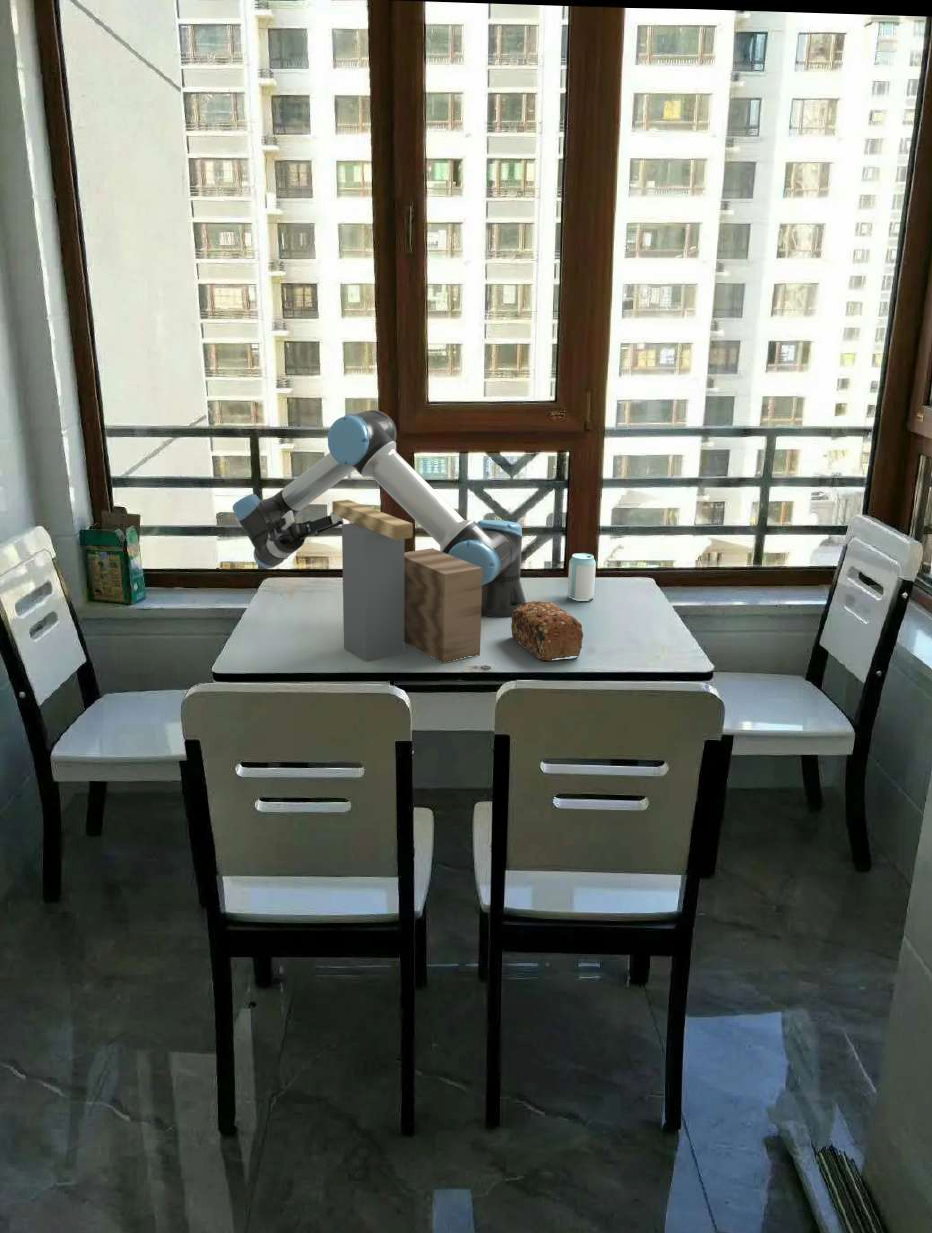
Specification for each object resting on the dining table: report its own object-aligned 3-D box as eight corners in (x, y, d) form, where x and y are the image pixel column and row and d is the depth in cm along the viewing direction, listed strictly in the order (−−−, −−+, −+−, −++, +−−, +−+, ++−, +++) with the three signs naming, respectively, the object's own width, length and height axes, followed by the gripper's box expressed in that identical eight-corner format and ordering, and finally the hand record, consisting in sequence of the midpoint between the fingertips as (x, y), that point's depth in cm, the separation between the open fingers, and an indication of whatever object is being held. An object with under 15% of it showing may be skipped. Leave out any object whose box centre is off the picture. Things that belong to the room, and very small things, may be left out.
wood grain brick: (396, 637, 236) (396, 553, 230) (431, 630, 242) (432, 548, 235) (443, 663, 221) (444, 574, 214) (479, 655, 226) (482, 567, 220)
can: (578, 593, 274) (581, 551, 270) (598, 599, 269) (601, 556, 265) (561, 598, 269) (564, 555, 265) (582, 604, 264) (585, 560, 261)
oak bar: (332, 514, 229) (332, 501, 228) (347, 512, 231) (347, 499, 230) (396, 539, 207) (396, 525, 206) (412, 537, 209) (412, 523, 208)
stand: (343, 648, 228) (341, 524, 219) (381, 640, 234) (381, 519, 225) (365, 661, 221) (364, 533, 212) (404, 653, 226) (404, 528, 217)
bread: (582, 659, 225) (585, 617, 222) (539, 664, 222) (541, 621, 219) (549, 633, 242) (551, 594, 239) (508, 637, 239) (510, 597, 236)
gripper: (333, 547, 263) (367, 522, 245) (244, 559, 249) (273, 533, 232) (326, 520, 264) (359, 493, 246) (236, 531, 250) (265, 503, 232)
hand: (318, 512), depth 239 cm, fingers open, 13 cm apart
